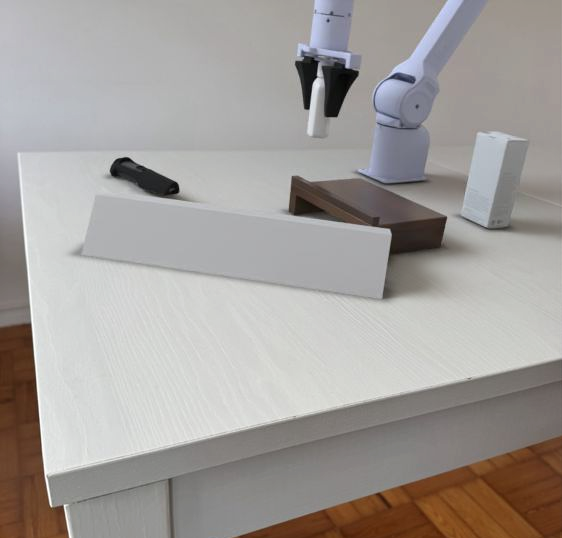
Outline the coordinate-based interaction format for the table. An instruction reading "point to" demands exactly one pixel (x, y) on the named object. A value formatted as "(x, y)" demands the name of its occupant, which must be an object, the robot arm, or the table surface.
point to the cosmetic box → (494, 178)
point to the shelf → (370, 210)
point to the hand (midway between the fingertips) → (320, 113)
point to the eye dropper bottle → (318, 106)
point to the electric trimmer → (144, 177)
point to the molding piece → (239, 243)
